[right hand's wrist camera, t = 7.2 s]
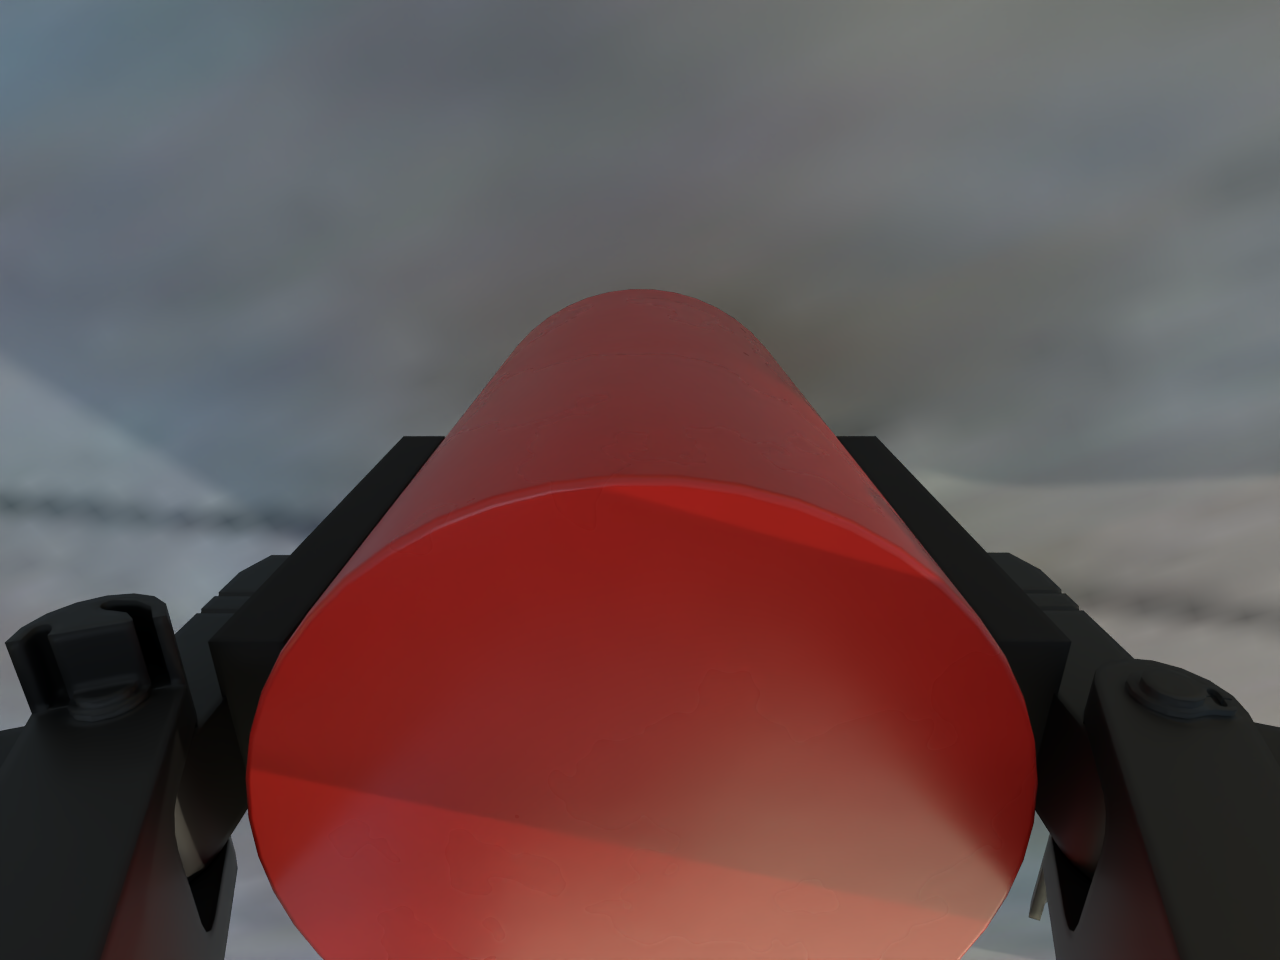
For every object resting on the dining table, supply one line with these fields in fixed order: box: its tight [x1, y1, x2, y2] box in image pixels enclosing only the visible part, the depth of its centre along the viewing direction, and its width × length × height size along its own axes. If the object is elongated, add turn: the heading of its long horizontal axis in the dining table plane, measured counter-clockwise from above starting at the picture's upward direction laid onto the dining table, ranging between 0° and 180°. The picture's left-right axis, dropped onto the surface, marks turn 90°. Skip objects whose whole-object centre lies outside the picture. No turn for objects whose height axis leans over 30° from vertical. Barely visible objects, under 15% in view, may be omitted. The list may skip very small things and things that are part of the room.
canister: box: [246, 289, 1038, 960], centre depth 12 cm, size 7×7×11 cm
